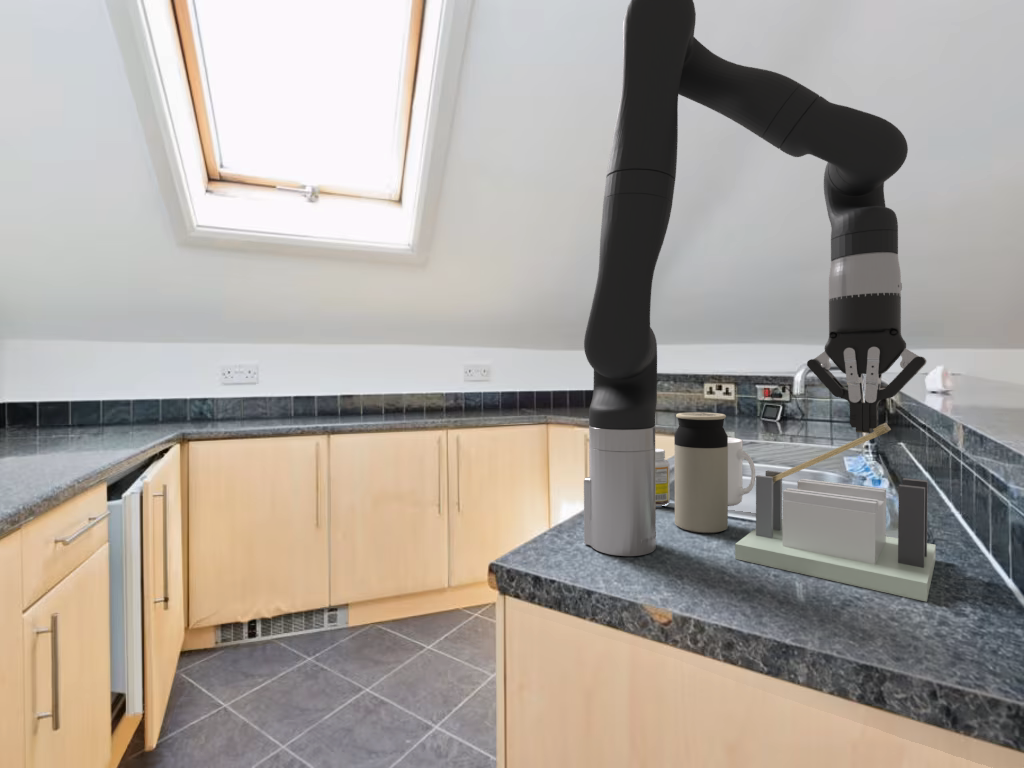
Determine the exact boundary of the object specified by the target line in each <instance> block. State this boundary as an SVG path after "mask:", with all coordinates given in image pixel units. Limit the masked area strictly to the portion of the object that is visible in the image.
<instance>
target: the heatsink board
mask: <svg viewBox="0 0 1024 768" xmlns="http://www.w3.org/2000/svg"><path fill="white" fill-rule="evenodd" d="M782 472H783V471H776V470H765V475H762V474H761V475H759V474H757V475H755V529H753V530H752V531H750V532H749V533H748V534H746V535H744V537H742V538H741V539H740V540H738V541H737V542H736V543H735V544H734V551H735V552H734V555H735V556H734V559H735V560H738V561H742V562H743V561H744V562H748V563H753V564H756V565H757V564H758V565H760V566H761V565H762V566H766V567H771V568H775V569H779V570H783V571H789V572H792V573H795V574H801V575H806V576H810V577H815V578H819V579H824V580H828V581H831V582H832V581H833V582H837V583H841V584H845V585H850V586H855V587H859V588H863V589H868V590H873V591H877V592H882V593H887V594H890V595H895V596H899V597H904V598H908V599H913V600H917V601H922V602H928V597H929V593H930V588H931V583H932V580H933V574H934V568H935V565H936V557H937V556H936V551H937V548H936V544H933V543H928V509H929V507H928V506H929V505H928V502H929V500H928V499H929V498H928V497H929V495H928V493H929V487H928V486H929V480H925V479H924V480H923V479H917V478H916V479H915V478H905V477H904V478H902V484H898V512H897V513H898V519H897V520H898V522H897V523H898V526H897V528H898V532H897V537H892V536H887V488H882V487H875V486H865V485H858V484H857V485H856V484H849V483H841V482H840V483H839V482H832V481H822V480H815V479H805V478H800V479H799V480H798V481H797V488H791V487H787V488H785V489H784V490H783V478H782V479H780V480H777V481H776V483H774V484H773V477H769V476H770V475H773V476H775V475H778V474H780V473H782Z"/></svg>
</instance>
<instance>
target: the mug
mask: <svg viewBox="0 0 1024 768" xmlns="http://www.w3.org/2000/svg"><path fill="white" fill-rule="evenodd" d="M743 444H744V443H743V440H742V439H741V438H737V437H736V438H735V437H730V436H729V437H728V507H733V506H738V505H739V504H741V503H742V500H743V496H744V495H747V494H749V493H751V491H753V489H754V487H755V485H756V468H755V466H756V465H755V463H754V461H753V459H752V457H751V456H750V455H749V454H748V453H747V452H746V451H745V450H743V446H744V445H743ZM743 460H746V461H747V462H748V464H749V467H750V474H751V475H750V476H751V478H750V482H749V484H748V486H746V487H745V488H743V487H744V486H743V478H744V477H743V476H744V475H743Z"/></svg>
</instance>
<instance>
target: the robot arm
mask: <svg viewBox="0 0 1024 768" xmlns="http://www.w3.org/2000/svg"><path fill="white" fill-rule="evenodd" d="M696 13H697V12H696V7H695V2H694V0H630V2H629V4H628V5H627V8H626V10H625V14H624V17H623V22H622V44H623V45H622V47H623V48H622V77H621V78H622V79H621V80H622V81H621V93H620V101H619V105H618V110H617V115H616V121H615V124H614V129H613V135H612V141H611V147H610V154H609V157H608V159H609V160H608V164H607V165H608V166H607V171H606V176H605V177H606V178H605V186H604V195H603V202H602V213H601V214H602V215H601V216H602V217H601V225H600V226H601V228H600V238H599V258H598V259H599V260H598V272H597V280H596V283H595V288H594V289H595V290H594V293H593V299H592V304H591V308H590V312H589V317H588V321H587V325H586V330H585V332H584V333H585V334H584V339H583V340H584V341H583V349H584V353H585V357H586V360H587V362H588V363H589V365H590V366H591V368H592V369H593V389H592V390H593V391H592V397H591V398H592V399H591V401H590V402H591V403H590V405H589V409H588V425H589V426H588V427H589V428H588V432H589V433H588V435H589V437H588V438H589V439H588V444H589V445H588V446H589V451H588V453H589V476H587V477H585V478H584V479H583V541H584V542H583V543H584V544H585V545H587V546H590V547H591V548H593V549H594V550H596V551H597V552H600V553H603V554H606V555H611V556H618V557H620V556H621V557H636V556H645V555H647V554H651V553H653V552H654V551H656V548H657V545H656V544H657V538H656V537H657V529H656V520H657V518H656V517H657V516H656V514H657V510H656V509H657V507H656V476H655V449H656V414H657V413H656V411H657V402H658V401H657V399H658V343H657V338H656V335H655V332H654V331H653V329H652V327H651V300H652V288H653V287H652V286H653V279H654V274H655V268H656V265H657V262H658V259H659V256H660V253H661V250H662V247H663V245H664V241H665V237H666V234H667V231H668V228H669V227H668V226H669V223H670V218H671V213H672V208H673V200H674V193H675V187H676V186H675V185H676V178H677V177H676V176H677V165H678V164H677V163H678V162H677V161H678V141H679V139H678V138H679V137H678V134H679V131H678V130H679V124H678V123H679V122H678V121H679V120H678V119H679V118H678V116H679V115H678V112H679V111H678V110H679V109H678V106H679V96H682V97H683V98H685V99H689V100H691V101H693V102H695V103H697V104H700V105H702V106H704V107H706V108H708V109H710V110H713V111H714V112H716V113H718V114H720V115H722V116H723V117H726V118H728V119H730V120H731V121H734V122H735V123H737V124H738V125H740V126H742V127H744V128H745V129H746V130H748V131H750V132H751V133H753V134H755V135H756V136H758V137H759V138H761V139H762V140H764V141H766V142H767V143H769V145H772V146H773V147H775V148H777V149H778V150H779V151H782V152H783V153H785V154H786V155H789V156H791V157H793V158H801V157H803V156H806V155H811V156H813V157H816V158H818V159H820V160H822V161H825V162H827V164H826V165H825V168H824V174H823V193H824V200H825V201H824V202H825V206H826V211H827V216H828V219H829V222H830V227H831V233H830V268H829V269H830V270H829V276H828V339H827V342H826V343H825V345H824V351H823V352H822V353H820V354H819V355H817V356H816V357H815V358H811V359H809V360H807V362H806V366H807V368H809V370H811V372H812V374H813V375H815V377H817V379H818V380H819V381H820V382H821V383H822V384H823V385H824V386H825V388H827V390H828V391H829V392H830V393H831V394H832V395H833V397H836V398H840V399H843V400H846V401H847V402H848V404H849V425H850V427H851V428H855V432H856V433H863V434H865V433H866V434H870V433H872V432H873V429H874V428H876V427H877V426H879V403H880V402H881V401H883V400H886V399H891V398H893V397H895V396H896V395H897V394H898V393H899V392H900V391H901V390H903V388H904V387H905V386H906V385H907V384H908V383H909V382H910V381H911V380H912V379H913V378H914V377H915V376H916V375H917V374H918V373H919V372H920V371H921V370H922V368H924V366H925V365H926V364H927V359H926V358H925V357H924V356H921V355H920V356H919V355H918V354H916V353H915V352H913V351H911V350H909V348H907V343H906V341H905V339H904V338H903V336H902V307H901V305H902V299H901V298H902V294H901V293H902V290H903V289H902V288H903V285H902V284H903V283H902V279H901V276H902V275H901V273H902V272H901V267H900V261H899V223H898V218H897V214H896V212H895V211H894V210H893V209H892V208H889V207H887V205H886V200H885V193H884V192H885V188H884V187H885V182H886V181H888V180H889V179H890V178H891V177H892V176H894V175H895V174H896V173H897V172H898V171H899V170H900V169H901V167H903V166H904V164H905V162H906V159H907V156H908V150H909V147H908V146H909V145H908V141H907V139H906V137H905V135H904V134H903V132H902V131H901V130H900V129H899V128H898V127H897V126H896V125H895V124H893V123H891V122H890V121H888V120H887V119H885V118H883V117H882V116H881V117H880V116H878V115H876V114H873V113H868V112H866V111H862V110H859V109H856V108H853V107H851V106H850V107H849V106H847V105H846V106H845V105H841V104H836V103H833V102H830V101H829V100H827V99H826V98H824V97H823V96H822V95H819V93H816V92H815V91H813V90H812V89H810V88H808V87H807V86H805V85H803V84H801V83H799V82H798V81H796V80H794V79H792V78H791V77H788V76H787V75H783V74H781V73H779V72H775V71H772V70H768V69H763V68H758V67H751V66H747V65H742V64H737V63H735V62H731V61H729V60H726V59H724V58H723V57H721V56H719V55H717V54H715V53H713V51H711V50H710V49H709V48H707V47H706V46H705V45H703V43H701V42H700V41H699V40H698V39H697V38H696V37H695V28H696V17H697V16H696ZM900 357H901V361H900V363H899V367H900V368H902V370H901V371H900V372H899V373H898V375H896V376H895V377H894V378H893V380H892V381H890V382H889V384H888V385H887V386H885V388H883V389H881V385H882V384H881V383H882V377H883V376H882V375H883V374H884V373H886V372H888V370H889V369H890V368H891V367H892V366H893V365H894V364H895V362H896V361H897V360H898V359H899V358H900ZM830 360H831V361H832V362H833V364H834V365H835V366H836V367H837V368H838V369H839V371H840V372H842V373H843V374H845V376H846V377H845V378H846V384H847V388H846V387H845V386H844V385H843V384H842V383H841V382H840V381H839V380H838V379H837V378H836V376H835V375H834V374H833V373H832V372H831V371H830V369H831V367H832V364H831V363H830ZM863 374H864V375H865V392H864V389H863Z"/></svg>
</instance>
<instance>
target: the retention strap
mask: <svg viewBox="0 0 1024 768" xmlns="http://www.w3.org/2000/svg"><path fill="white" fill-rule="evenodd" d="M891 430H892V429H891V427H890V426H889V425H888V423H887V422H884V423H881V424H878V425H877V427H876V428H872V432H871V433H866V434H865V435H863V436H860V437H859V438H856V439H854V440H852V441H850V442H848V443H846V444H843V445H841V446H838V447H836V448H834V449H832V450H830V451H828V452H825V453H823V454H821V455H818V456H816V457H814V458H811V459H810V460H807V461H804V462H803V463H800V464H798V465H796V466H794V467H791V468H789V469H787V470H784V471H781V472H782V473H780V474H778V475H775V476H773V475H770V476H769V477H773V484H774V483H776V481H777V480H780V479H782V480H783V479H785V478H786V477H788V476H791V475H793V474H795V473H797V472H800V471H802V470H804V469H808V468H809V467H812V466H814V465H815V464H818V463H820V462H822V461H825V460H828V459H829V458H831V457H833V456H836V455H839V454H841V453H843V452H846V451H847V450H850V449H852V448H855V447H857V446H859V445H862V444H864V443H866V442H869V441H870V440H873V439H875V438H878V437H879V436H882V435H884V434H887V433H888V432H890V431H891Z"/></svg>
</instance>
